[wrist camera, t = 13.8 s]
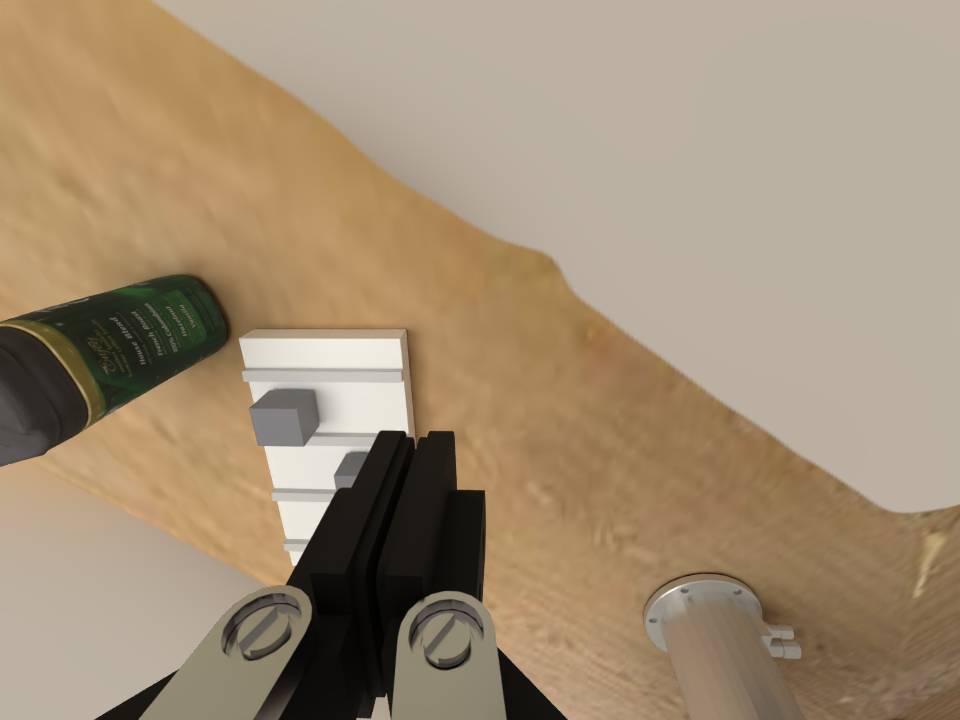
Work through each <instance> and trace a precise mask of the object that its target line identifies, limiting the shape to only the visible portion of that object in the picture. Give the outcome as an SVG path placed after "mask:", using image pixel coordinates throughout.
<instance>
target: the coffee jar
mask: <svg viewBox="0 0 960 720" xmlns="http://www.w3.org/2000/svg"><path fill="white" fill-rule="evenodd" d="M226 338H227V329H226V325H225V321H224V319H223V316H222V314H221V311H220V309H219V307H218V305H217V304H216V302H215V300H214V299H213V297H212V296H211V295H210V293H209V292H208V291H207V290H206V288H205V287H204V286H203V285H201V284H200V283H199V282H197V281H196V280H195V279H193V278H190V277H187V276H183V275H171V276H165V277H160V278H156V279H152V280H148V281H144V282H140V283H136V284H133V285H129V286H126V287H122V288H119V289H115V290H112V291H108V292H105V293H101V294H97V295H93V296H89V297H85V298H82V299H78V300H74V301H70V302H67V303H63V304H59V305H56V306H52V307H48V308H45V309H42V310H38V311H34V312H31V313H28V314H24V315H21V316H18V317H15V318H11V319H8V320H5V321H2V322H0V467H1V466H5V465H8V464H11V463H15V462H19V461H22V460H26V459H30V458H34V457H37V456H41V455H44V454H45V453H46V452H47V451H48V450H49V449H51V448H53V447H55V446H57V445H59V444H61V443H63V442H64V441H66V440H68V439H70V438H72V437H74V436H76V435H77V434H79V433H80V432H82V431H83V430H85V429H87V428H88V427H90V426H91V425H93V424H94V423H96V422H98V421H99V420H101V419H102V418H104V417H105V416H107V415H109V414H110V413H112V412H114V411H115V410H117V409H119V408H120V407H122V406H124V405H125V404H127V403H129V402H131V401H132V400H134V399H136V398H137V397H139V396H141V395H142V394H144V393H146V392H147V391H149V390H151V389H153V388H154V387H156V386H158V385H159V384H161V383H163V382H165V381H166V380H168V379H170V378H171V377H173V376H175V375H177V374H179V373H180V372H182V371H184V370H186V369H187V368H189V367H191V366H193V365H195V364H196V363H198V362H200V361H202V360H203V359H205V358H207V357H209V356H210V355H212V354H214V353H215V352H217V351H219V350H220V349H221V348H222V347H223V345H224V343H225V341H226Z"/></svg>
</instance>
